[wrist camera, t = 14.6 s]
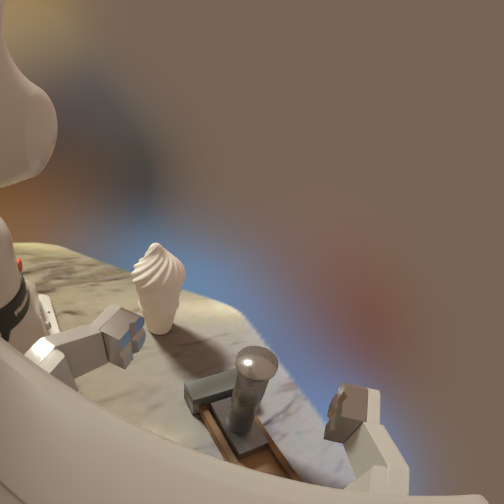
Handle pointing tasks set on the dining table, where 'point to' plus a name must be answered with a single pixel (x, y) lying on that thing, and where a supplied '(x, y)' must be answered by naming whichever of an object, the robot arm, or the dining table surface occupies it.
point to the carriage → (246, 401)
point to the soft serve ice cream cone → (158, 287)
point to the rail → (199, 401)
